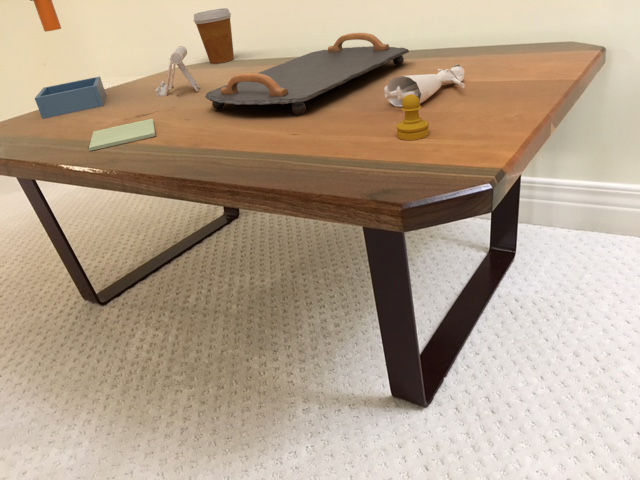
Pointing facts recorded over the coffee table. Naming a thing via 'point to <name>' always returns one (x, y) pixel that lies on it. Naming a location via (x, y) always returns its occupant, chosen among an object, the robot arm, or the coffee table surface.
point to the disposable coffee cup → (216, 34)
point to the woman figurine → (422, 84)
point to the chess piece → (412, 120)
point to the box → (71, 97)
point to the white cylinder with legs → (175, 59)
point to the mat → (122, 134)
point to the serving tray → (306, 75)
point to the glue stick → (47, 15)
